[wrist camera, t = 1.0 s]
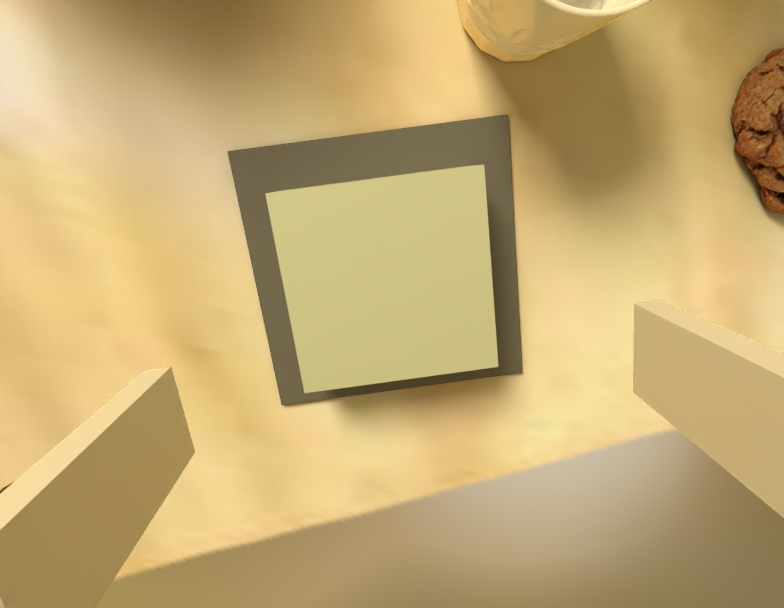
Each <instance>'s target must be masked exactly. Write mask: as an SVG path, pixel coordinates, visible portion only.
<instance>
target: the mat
mask: <svg viewBox="0 0 784 608" xmlns="http://www.w3.org/2000/svg"><path fill="white" fill-rule="evenodd" d="M228 155H229V160H230V164H231V169H232V174H233V178H234V183H235V188H236V193H237V197H238V202H239V207H240V211H241V216H242V221H243V225H244V230H245V235H246V240H247V244H248V249H249V254H250V258H251V263H252V268H253V272H254V277H255V282H256V287H257V291H258V296H259V301H260V305H261V310H262V315H263V319H264V324H265V329H266V333H267V338H268V343H269V348H270V352H271V357H272V362H273V366H274V371H275V376H276V380H277V385H278V390H279V395H280V399H281V404H282V405H287V404H295V403H302V402H309V401H317V400H324V399H331V398H339V397H346V396H353V395H360V394H368V393H375V392H382V391H390V390H397V389H404V388H412V387H419V386H426V385H434V384H441V383H448V382H456V381H463V380H470V379H478V378H485V377H492V376H500V375H507V374H514V373H522V356H521V338H520V320H519V302H518V284H517V266H516V248H515V230H514V212H513V194H512V176H511V158H510V140H509V122H508V115H500V116H493V117H485V118H478V119H470V120H462V121H455V122H447V123H440V124H432V125H425V126H417V127H409V128H402V129H394V130H387V131H379V132H371V133H364V134H356V135H349V136H341V137H334V138H326V139H318V140H311V141H303V142H296V143H288V144H280V145H273V146H265V147H258V148H250V149H243V150H235V151H228ZM472 165H484V169H485V183H486V197H487V211H488V225H489V240H490V254H491V268H492V282H493V296H494V310H495V325H496V339H497V353H498V367H494V368H486V369H479V370H472V371H464V372H457V373H450V374H442V375H435V376H428V377H420V378H413V379H406V380H398V381H391V382H384V383H376V384H369V385H362V386H354V387H347V388H340V389H332V390H325V391H318V392H310V393H304V388H303V383H302V378H301V373H300V368H299V363H298V358H297V353H296V348H295V342H294V337H293V332H292V327H291V322H290V317H289V312H288V307H287V302H286V297H285V292H284V286H283V281H282V276H281V271H280V266H279V261H278V256H277V251H276V246H275V241H274V236H273V231H272V225H271V220H270V215H269V210H268V205H267V200H266V195H265V194H266V193H271V192H276V191H282V190H290V189H297V188H305V187H313V186H320V185H328V184H335V183H343V182H350V181H358V180H365V179H373V178H380V177H388V176H395V175H403V174H411V173H418V172H426V171H433V170H441V169H448V168H456V167H463V166H472Z"/></svg>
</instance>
